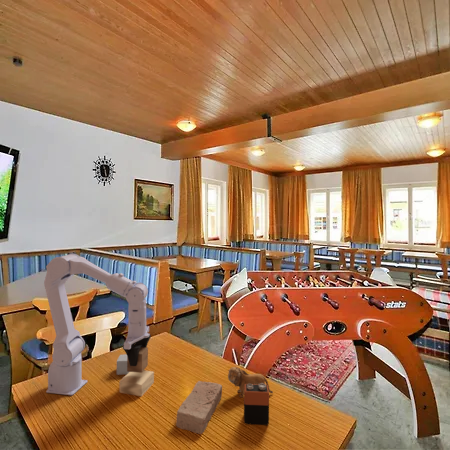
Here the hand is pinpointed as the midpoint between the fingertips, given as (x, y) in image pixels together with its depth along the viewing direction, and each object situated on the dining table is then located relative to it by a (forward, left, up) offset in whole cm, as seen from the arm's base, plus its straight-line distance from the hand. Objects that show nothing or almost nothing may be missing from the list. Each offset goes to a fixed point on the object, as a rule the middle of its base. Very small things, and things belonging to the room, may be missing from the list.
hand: (137, 361), depth 96 cm
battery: (+40, -9, -9) cm, 42 cm away
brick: (+24, -8, -9) cm, 27 cm away
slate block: (-9, +9, -9) cm, 16 cm away
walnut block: (0, 0, -2) cm, 2 cm away
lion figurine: (+37, +2, -9) cm, 38 cm away
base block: (0, 0, -9) cm, 9 cm away
